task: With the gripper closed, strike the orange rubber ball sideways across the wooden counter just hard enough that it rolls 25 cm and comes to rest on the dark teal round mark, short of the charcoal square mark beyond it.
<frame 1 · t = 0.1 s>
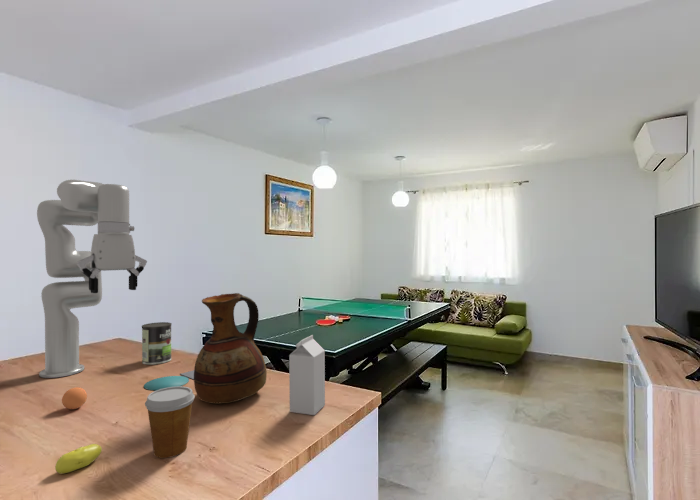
hand: (114, 291, 107), 31 cm above the counter, tool pointing down, fingers open, 9 cm apart
disposable coffee cup: (170, 451, 81), on the counter
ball: (74, 398, 103), on the counter
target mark: (166, 383, 123), on the counter
milk carton: (307, 409, 102), on the counter
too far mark: (201, 373, 132), on the counter
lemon: (79, 468, 75), on the counter
coffee can: (157, 361, 148), on the counter
ceramic pitcher: (231, 396, 112), on the counter
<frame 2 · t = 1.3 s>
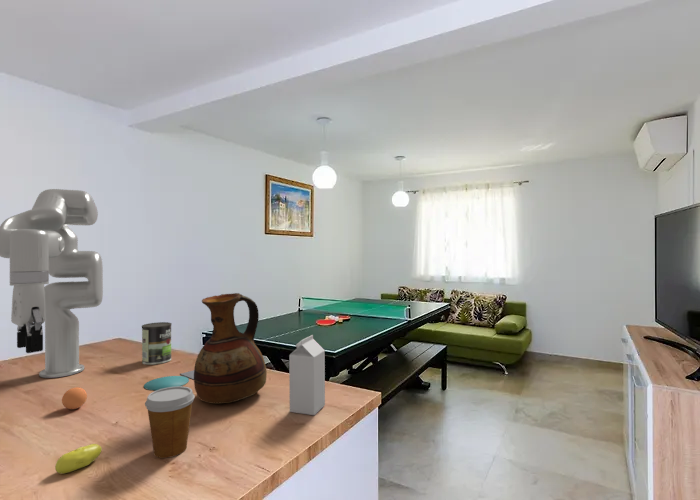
hand: (29, 348, 96), 18 cm above the counter, tool pointing down, fingers open, 7 cm apart
nothing on the counter moved.
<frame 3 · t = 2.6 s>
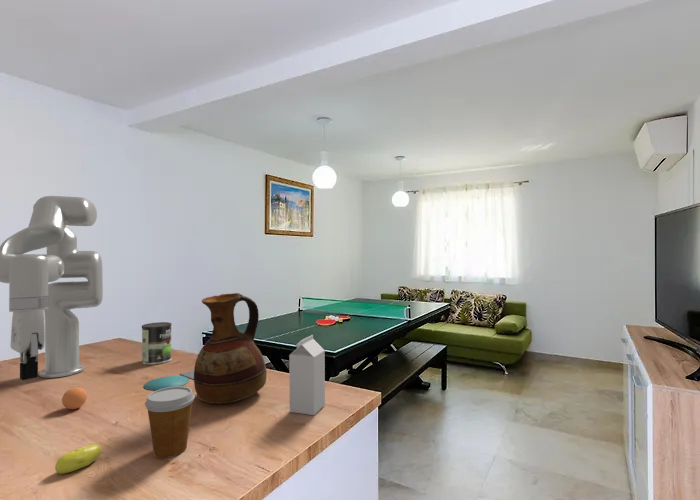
hand: (28, 378, 95), 11 cm above the counter, tool pointing down, fingers closed
nothing on the counter moved.
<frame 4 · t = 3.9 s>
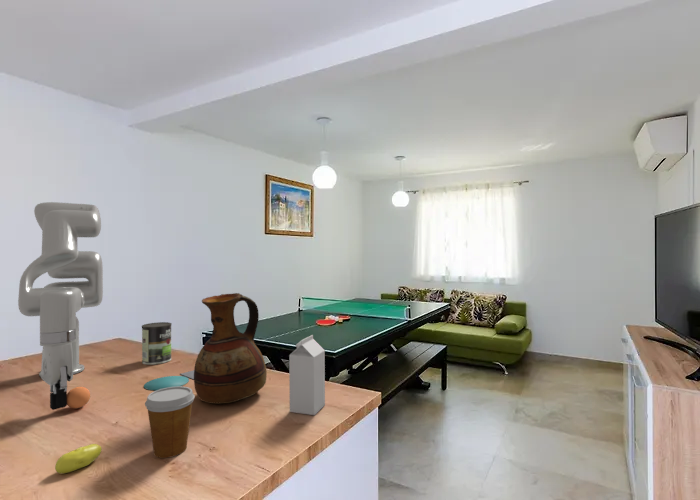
hand: (58, 407, 100), 1 cm above the counter, tool pointing down, fingers closed
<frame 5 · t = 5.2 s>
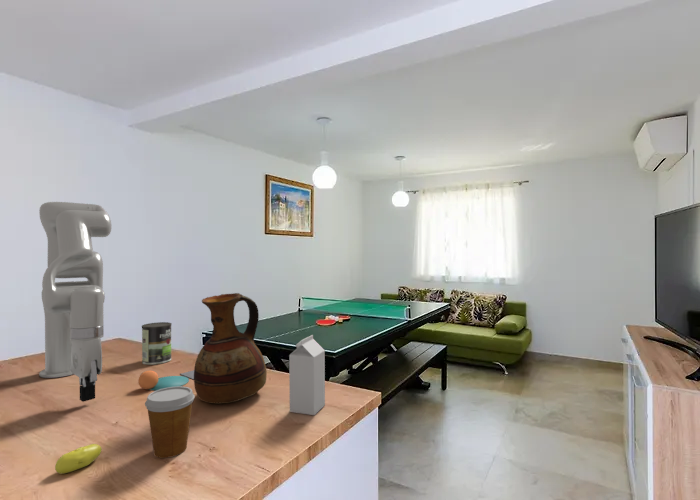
hand: (87, 399, 106), 2 cm above the counter, tool pointing down, fingers closed
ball: (148, 379, 118), on the counter
everything else where it was.
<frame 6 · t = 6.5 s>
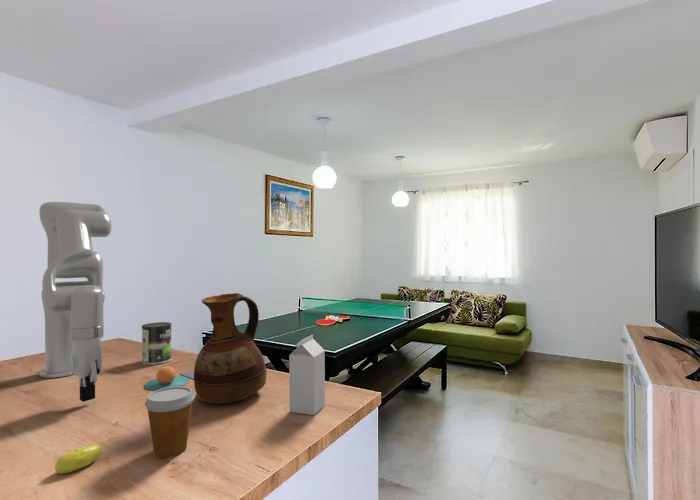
hand: (87, 399, 106), 2 cm above the counter, tool pointing down, fingers closed
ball: (165, 375, 122), on the counter
everything else where it was.
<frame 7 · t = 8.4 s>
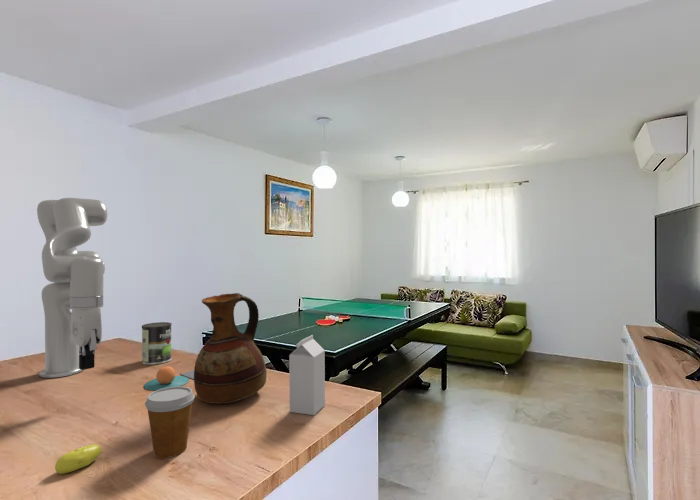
hand: (86, 368, 106), 10 cm above the counter, tool pointing down, fingers closed
nothing on the counter moved.
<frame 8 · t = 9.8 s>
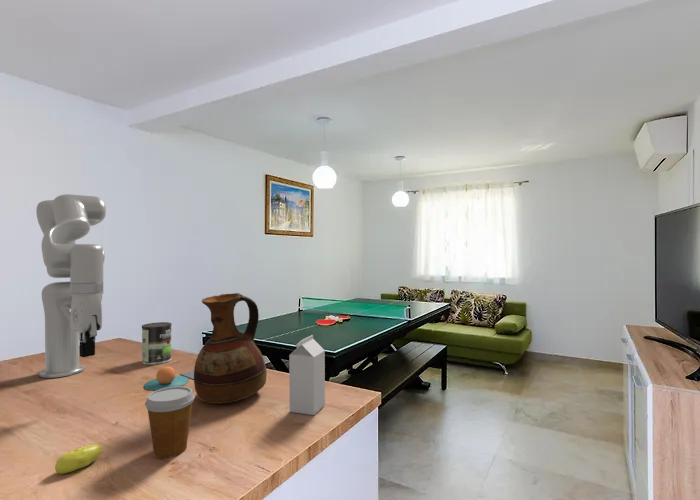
hand: (87, 355, 106), 13 cm above the counter, tool pointing down, fingers closed
nothing on the counter moved.
at the end: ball 0.9 cm from the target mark (horizontally); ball at rest at the end (0.0 cm/s); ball moved 24.4 cm from its start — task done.
